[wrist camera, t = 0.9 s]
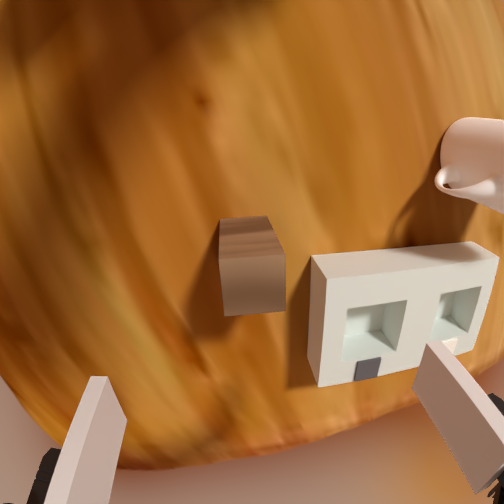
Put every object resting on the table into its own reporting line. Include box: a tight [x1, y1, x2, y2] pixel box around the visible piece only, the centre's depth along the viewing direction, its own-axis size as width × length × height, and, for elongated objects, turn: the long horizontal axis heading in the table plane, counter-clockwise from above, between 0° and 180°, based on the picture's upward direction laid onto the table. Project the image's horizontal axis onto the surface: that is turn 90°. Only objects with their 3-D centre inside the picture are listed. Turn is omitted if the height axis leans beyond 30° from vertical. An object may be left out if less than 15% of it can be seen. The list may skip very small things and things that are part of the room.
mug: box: [435, 117, 504, 214], centre depth 22 cm, size 9×12×11 cm
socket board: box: [307, 241, 499, 387], centre depth 30 cm, size 12×20×5 cm, turn 93°
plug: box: [219, 216, 286, 316], centre depth 24 cm, size 4×4×9 cm
